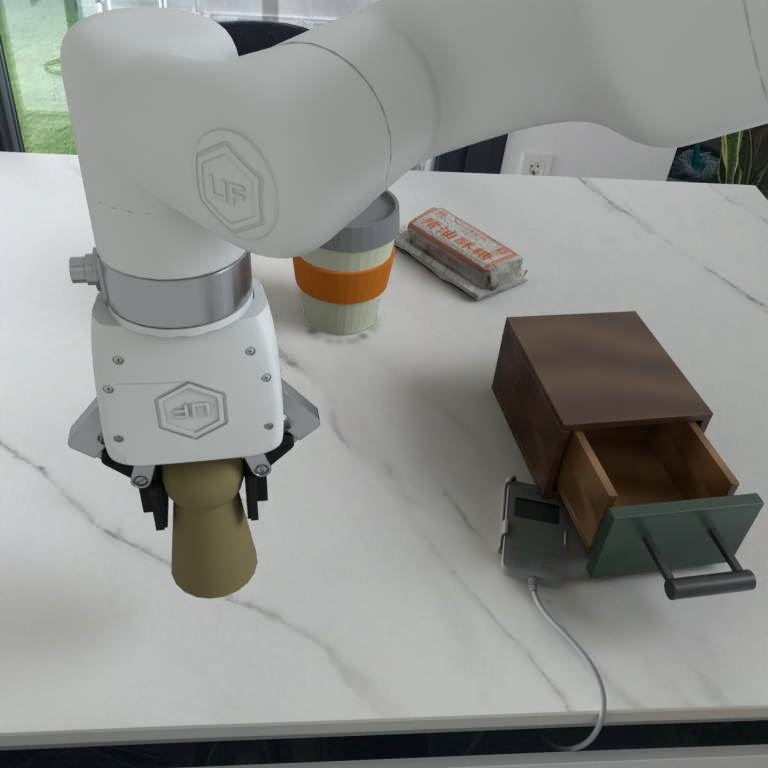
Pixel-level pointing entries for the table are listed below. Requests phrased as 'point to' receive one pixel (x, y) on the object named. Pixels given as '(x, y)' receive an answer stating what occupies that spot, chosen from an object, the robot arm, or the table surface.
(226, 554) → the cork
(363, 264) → the reusable coffee cup
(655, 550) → the drawer
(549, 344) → the cabinet
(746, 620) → the table surface
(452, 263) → the packaged product
